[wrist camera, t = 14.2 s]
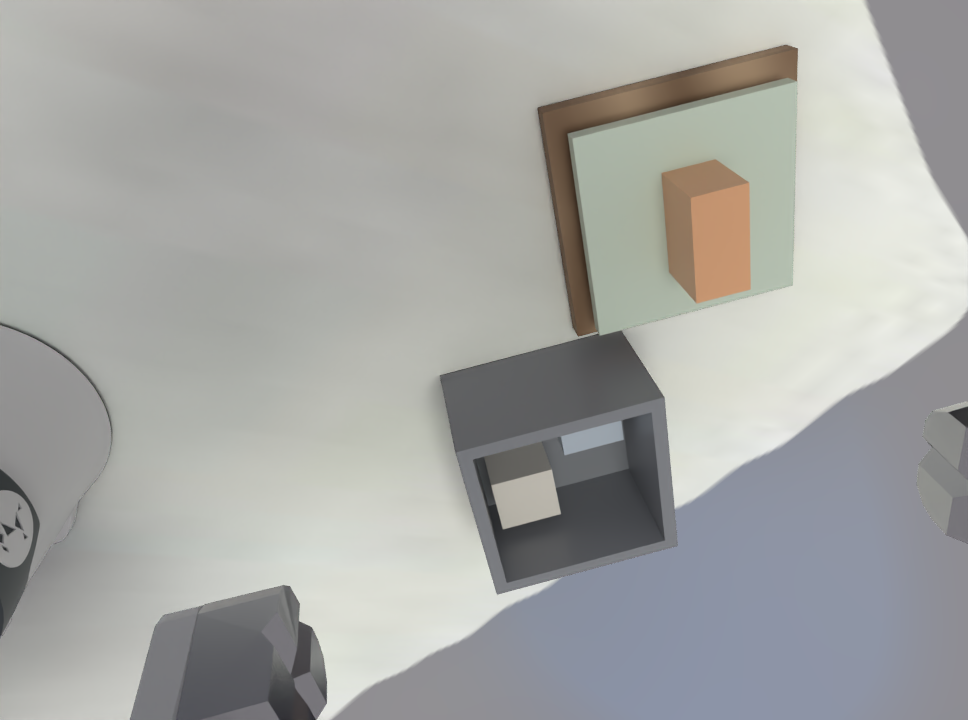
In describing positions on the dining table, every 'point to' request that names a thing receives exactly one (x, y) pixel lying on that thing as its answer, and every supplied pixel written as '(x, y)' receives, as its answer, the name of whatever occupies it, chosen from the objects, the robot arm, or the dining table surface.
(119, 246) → the dining table surface
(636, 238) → the lid
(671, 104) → the walnut board
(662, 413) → the storage box
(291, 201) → the dining table surface
